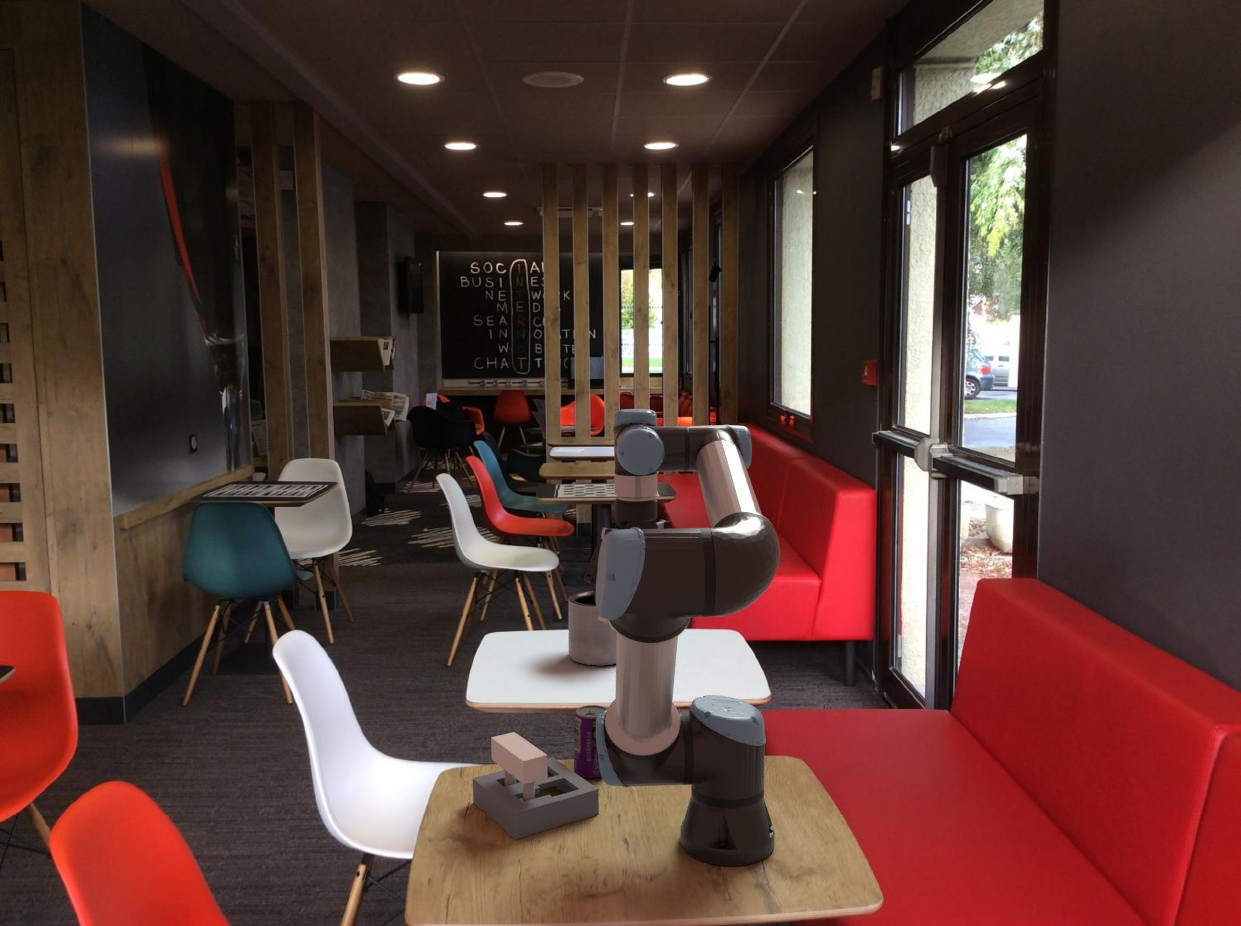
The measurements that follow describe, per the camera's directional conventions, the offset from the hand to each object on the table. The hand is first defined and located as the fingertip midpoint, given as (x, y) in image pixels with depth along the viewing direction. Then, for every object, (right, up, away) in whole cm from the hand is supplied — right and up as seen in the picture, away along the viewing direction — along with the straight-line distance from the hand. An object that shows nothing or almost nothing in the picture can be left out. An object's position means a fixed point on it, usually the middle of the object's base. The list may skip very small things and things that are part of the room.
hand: (636, 615), depth 185 cm
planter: (-8, -22, +77) cm, 80 cm away
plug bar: (-20, -33, -7) cm, 39 cm away
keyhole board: (-18, -33, -5) cm, 38 cm away
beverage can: (-8, -31, +9) cm, 33 cm away
